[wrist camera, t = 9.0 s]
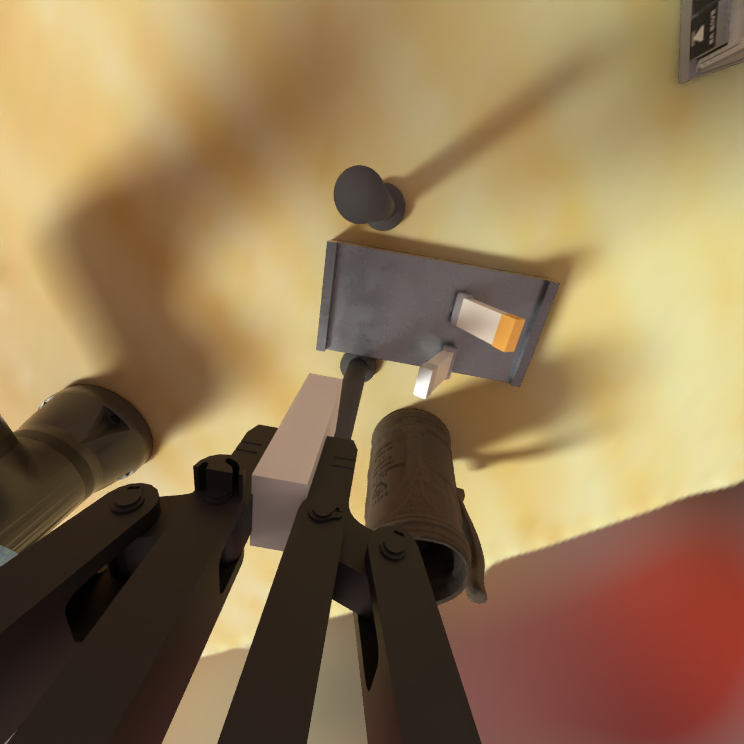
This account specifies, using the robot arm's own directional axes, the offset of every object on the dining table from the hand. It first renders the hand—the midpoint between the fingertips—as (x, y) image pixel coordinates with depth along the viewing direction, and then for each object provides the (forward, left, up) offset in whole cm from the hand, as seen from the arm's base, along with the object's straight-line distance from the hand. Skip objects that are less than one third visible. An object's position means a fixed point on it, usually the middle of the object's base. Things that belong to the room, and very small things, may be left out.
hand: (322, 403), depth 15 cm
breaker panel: (+7, -1, -26) cm, 27 cm away
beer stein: (+11, -20, -27) cm, 35 cm away
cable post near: (0, +9, -26) cm, 28 cm away
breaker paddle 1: (+10, -6, -23) cm, 26 cm away
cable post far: (0, -9, -26) cm, 28 cm away
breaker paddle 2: (+10, 0, -23) cm, 25 cm away
